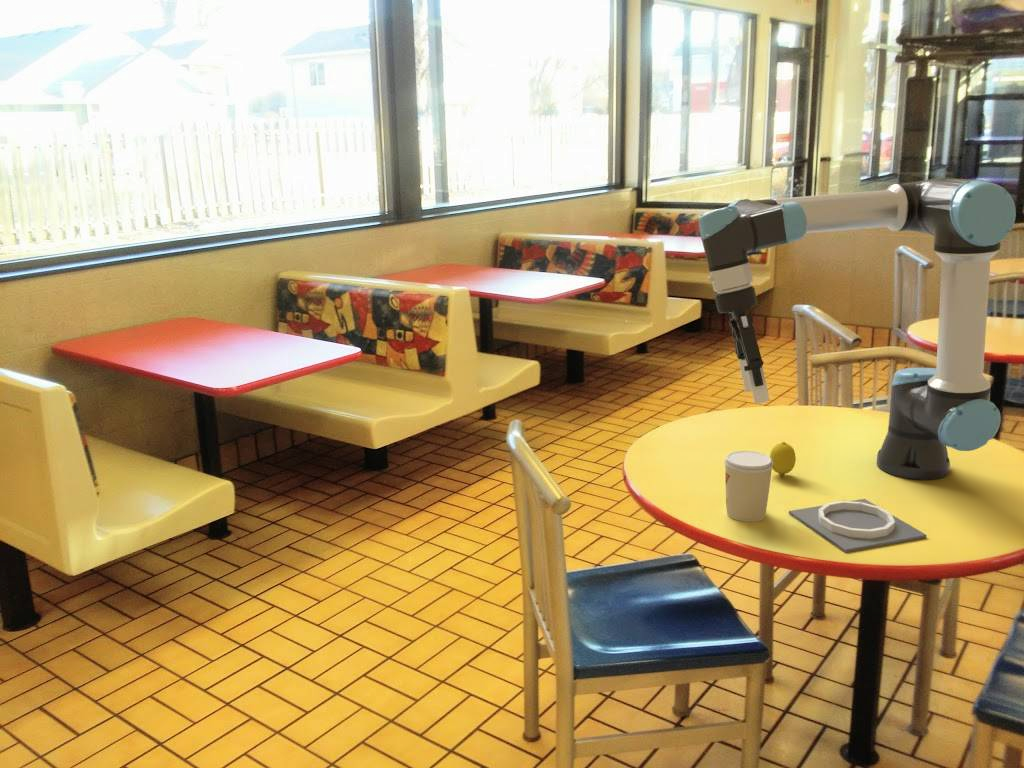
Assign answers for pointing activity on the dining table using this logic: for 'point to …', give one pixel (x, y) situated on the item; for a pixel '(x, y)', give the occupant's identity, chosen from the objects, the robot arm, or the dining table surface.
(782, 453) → the lemon
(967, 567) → the dining table surface
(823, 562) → the dining table surface
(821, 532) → the cup tray
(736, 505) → the coffee cup
